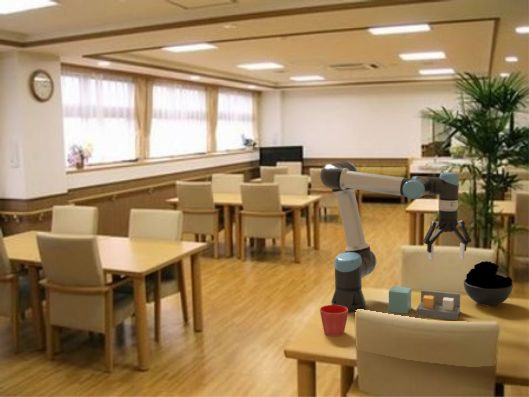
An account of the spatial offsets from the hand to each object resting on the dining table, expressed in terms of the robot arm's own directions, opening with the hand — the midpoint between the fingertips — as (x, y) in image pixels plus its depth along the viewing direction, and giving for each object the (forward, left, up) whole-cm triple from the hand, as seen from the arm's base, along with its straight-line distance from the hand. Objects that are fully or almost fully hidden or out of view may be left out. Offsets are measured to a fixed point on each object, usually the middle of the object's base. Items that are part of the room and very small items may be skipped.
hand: (446, 259), depth 230 cm
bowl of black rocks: (+16, +16, -23) cm, 32 cm away
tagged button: (-6, -4, -21) cm, 22 cm away
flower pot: (-36, -40, -23) cm, 59 cm away
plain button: (+2, -4, -21) cm, 21 cm away
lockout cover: (-18, -4, -23) cm, 30 cm away
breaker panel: (-2, -4, -23) cm, 23 cm away
